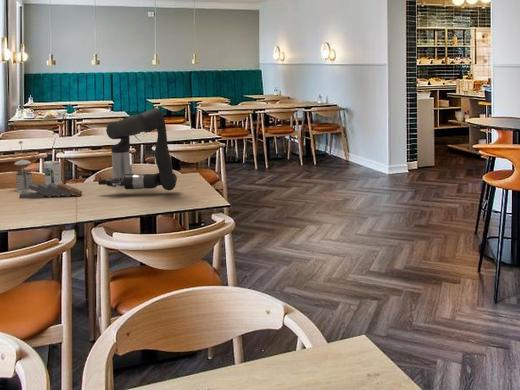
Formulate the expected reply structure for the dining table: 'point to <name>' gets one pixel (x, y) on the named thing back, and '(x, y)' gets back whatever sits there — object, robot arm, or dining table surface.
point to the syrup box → (52, 172)
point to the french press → (23, 175)
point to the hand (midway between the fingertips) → (98, 182)
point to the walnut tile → (69, 189)
